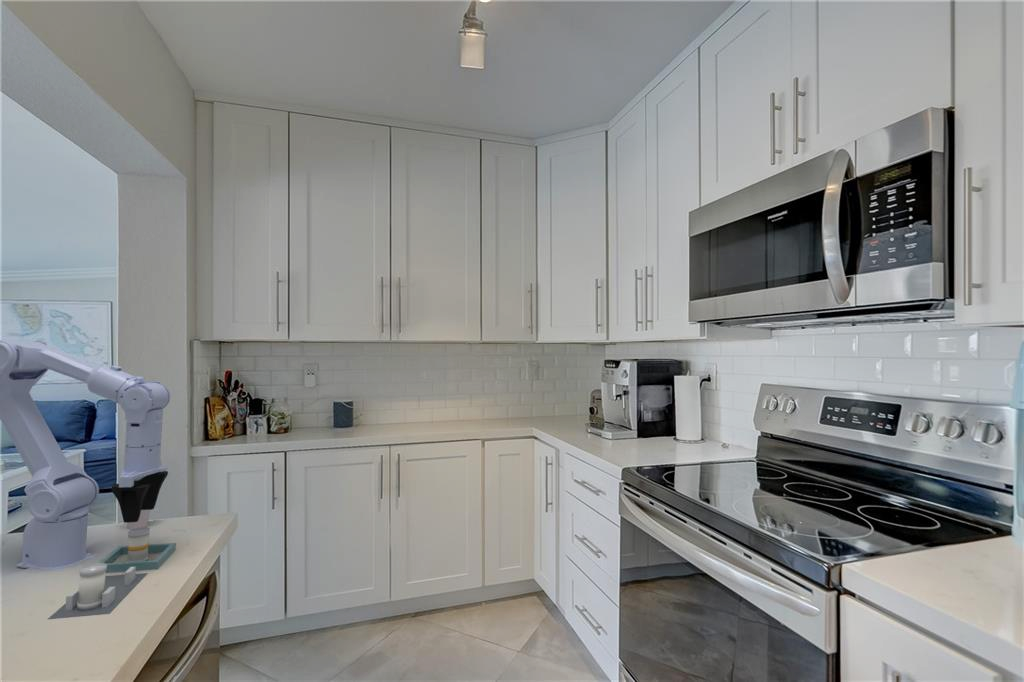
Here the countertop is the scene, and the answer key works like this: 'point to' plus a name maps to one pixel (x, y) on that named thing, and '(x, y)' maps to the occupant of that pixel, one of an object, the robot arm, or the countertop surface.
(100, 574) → the cylinder
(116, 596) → the fuse board
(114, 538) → the countertop surface
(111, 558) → the tray
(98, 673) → the countertop surface
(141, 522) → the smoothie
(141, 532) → the marked fuse
